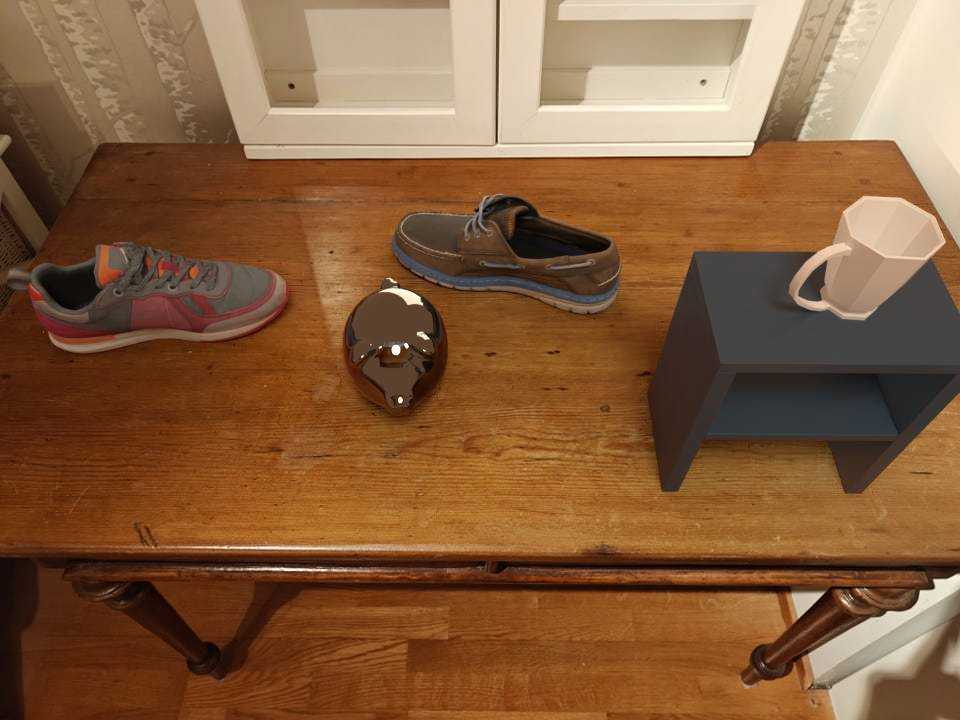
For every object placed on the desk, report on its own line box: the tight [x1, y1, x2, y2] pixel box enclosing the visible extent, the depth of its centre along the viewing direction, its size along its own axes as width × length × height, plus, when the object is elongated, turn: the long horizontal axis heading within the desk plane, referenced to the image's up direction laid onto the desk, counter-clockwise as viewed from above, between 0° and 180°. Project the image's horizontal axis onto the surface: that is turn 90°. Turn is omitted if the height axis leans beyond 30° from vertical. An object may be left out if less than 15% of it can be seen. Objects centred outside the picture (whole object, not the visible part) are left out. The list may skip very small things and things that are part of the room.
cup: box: [789, 195, 947, 320], centre depth 53 cm, size 7×10×8 cm
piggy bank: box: [341, 277, 449, 417], centre depth 74 cm, size 11×15×12 cm
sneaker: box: [5, 240, 290, 355], centre depth 80 cm, size 10×28×12 cm, turn 102°
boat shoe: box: [391, 193, 622, 315], centre depth 85 cm, size 10×29×11 cm, turn 74°
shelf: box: [646, 250, 960, 494], centre depth 65 cm, size 20×12×22 cm, turn 89°
